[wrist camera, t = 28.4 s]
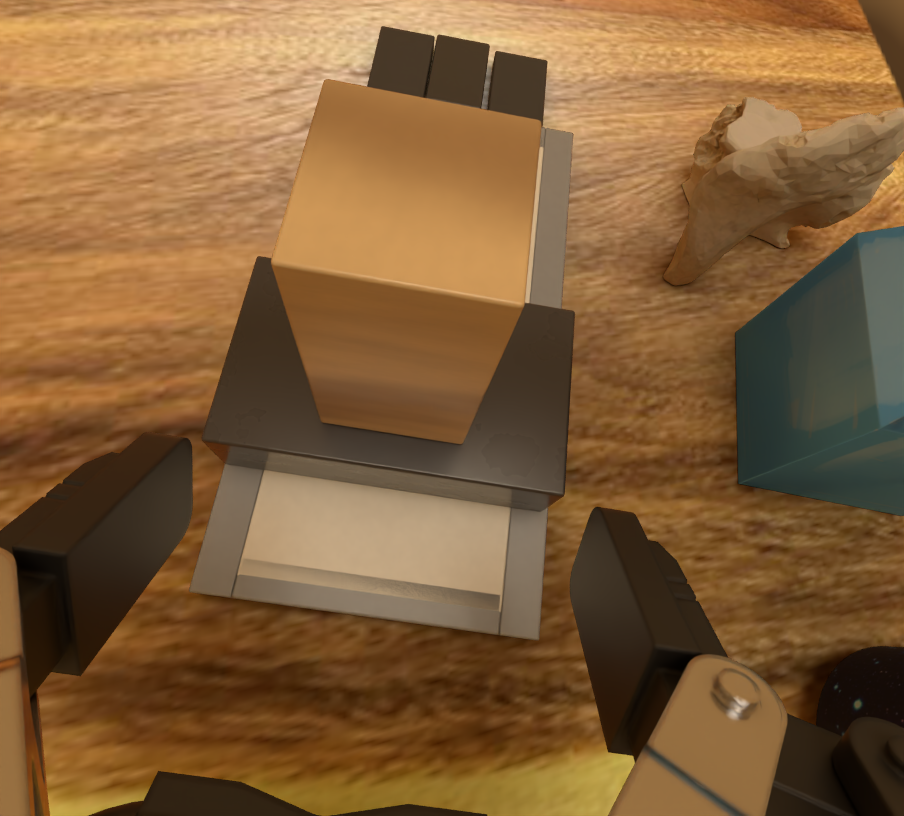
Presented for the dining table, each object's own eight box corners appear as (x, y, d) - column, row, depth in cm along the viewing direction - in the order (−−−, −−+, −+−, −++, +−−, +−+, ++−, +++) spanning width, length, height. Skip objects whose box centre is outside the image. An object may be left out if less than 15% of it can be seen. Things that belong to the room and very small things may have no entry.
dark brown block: (421, 116, 25) (422, 100, 24) (366, 106, 24) (365, 90, 24) (433, 52, 26) (434, 35, 25) (381, 42, 26) (381, 25, 25)
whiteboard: (531, 639, 18) (539, 640, 17) (198, 593, 17) (187, 591, 16) (566, 150, 25) (573, 132, 24) (334, 106, 24) (332, 85, 23)
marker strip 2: (478, 123, 25) (481, 108, 24) (423, 114, 25) (425, 98, 24) (487, 59, 26) (490, 43, 25) (436, 50, 26) (437, 33, 25)
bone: (782, 103, 25) (1058, -20, 15) (794, 250, 26) (1053, 222, 17) (604, 140, 24) (781, 32, 14) (627, 291, 25) (802, 287, 16)
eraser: (542, 512, 18) (711, 396, 9) (224, 464, 17) (40, 283, 8) (553, 345, 20) (699, 110, 11) (271, 298, 20) (169, 4, 10)
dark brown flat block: (538, 140, 25) (542, 125, 24) (484, 130, 25) (487, 115, 24) (543, 75, 26) (547, 60, 26) (492, 66, 26) (495, 49, 25)
